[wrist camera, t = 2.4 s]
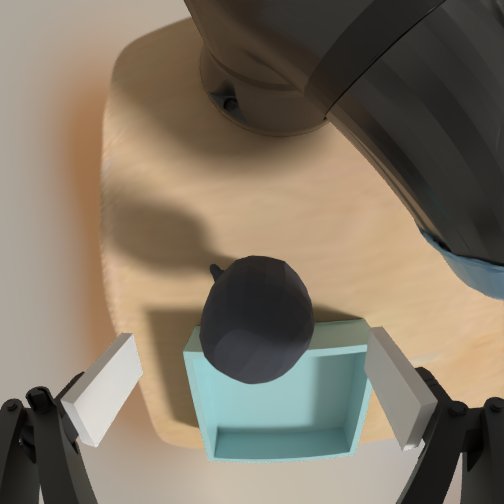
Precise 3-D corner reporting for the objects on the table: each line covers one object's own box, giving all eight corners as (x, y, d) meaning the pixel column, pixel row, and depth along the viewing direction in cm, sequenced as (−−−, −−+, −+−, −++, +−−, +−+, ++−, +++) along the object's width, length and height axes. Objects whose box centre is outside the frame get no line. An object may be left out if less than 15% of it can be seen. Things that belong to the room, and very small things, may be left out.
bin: (195, 325, 31) (182, 351, 25) (364, 318, 30) (380, 342, 24) (214, 432, 34) (208, 460, 29) (346, 426, 33) (354, 454, 28)
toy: (202, 284, 30) (150, 364, 15) (239, 218, 28) (208, 250, 13) (278, 324, 30) (285, 426, 16) (318, 263, 29) (364, 335, 14)
